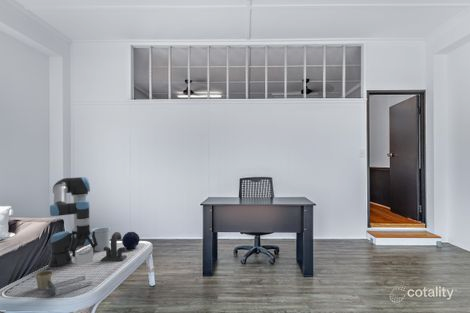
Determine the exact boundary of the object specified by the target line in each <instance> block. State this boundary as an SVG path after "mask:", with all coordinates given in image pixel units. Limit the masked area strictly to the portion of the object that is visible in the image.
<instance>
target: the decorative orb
mask: <svg viewBox="0 0 470 313" xmlns="http://www.w3.org/2000/svg"><path fill="white" fill-rule="evenodd" d="M139 243H140V236H139V234H138V233H136V232H135V231H128V232H126V233H125V234H124V235H123V237H122V239H121V244H122V245H123V247H126V250H128V249H130V250H131V249H133V250H134V249H135V248H136V247H137V246H138V245H139Z"/></svg>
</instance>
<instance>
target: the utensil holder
mask: <svg viewBox="0 0 470 313" xmlns="http://www.w3.org/2000/svg"><path fill="white" fill-rule="evenodd" d="M110 230H111V228H110V227H105V226H104V227H101V226H100V227H96V228H93V229H91V232H92V231H94V232H95V238H96V241H97V246H95V251H94V252H103V250H104V247H109V248H110V246H111V237H110V236H111V235H110V232H111V231H110ZM91 241H92V243H93V244H94V242H93V238H92V237H91Z"/></svg>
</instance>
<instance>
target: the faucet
mask: <svg viewBox="0 0 470 313" xmlns="http://www.w3.org/2000/svg"><path fill="white" fill-rule="evenodd" d="M122 238H123V237H122V235H121V233H120V232H118V231H115V232H114V233H113V234H112V235H111V237H110V246H109V247H104V251H105V253H106V255H105V256H104V257H103V258H101V259H100V262H123V261H124V260H126V259H127V258H128V256H127V255H126V254H124V255H123V253H122V252H126V251H127V248H126V247H124V246H121V247H119V248H118V246H117V244H118V241H120V240H121V241H122Z"/></svg>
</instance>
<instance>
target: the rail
mask: <svg viewBox="0 0 470 313" xmlns="http://www.w3.org/2000/svg"><path fill="white" fill-rule="evenodd" d="M84 280H86V275H83V276H79V277H75V278H71V279H68V280H63V281H61V282H60V281H59V282H57V283H53V282H52V280H51V281H50V280H49V281H48V288H47V290H48V291H49V293H50V294H51V295H52V296H53V297H56V296H59V295H62V294H65V293H68V292H69V293H70V292H72V291H75V290H79V289H82V288H85V287H89V286H91V285H92V286H93V281H87V282H83V283H80V284H76V285H72V286H69V287H67V288H63V289H59V290H56V288H59V287H62V286H63V287H64V286H65V285H69V284H73V283H76V282H77V283H78V282H80V281H84Z"/></svg>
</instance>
